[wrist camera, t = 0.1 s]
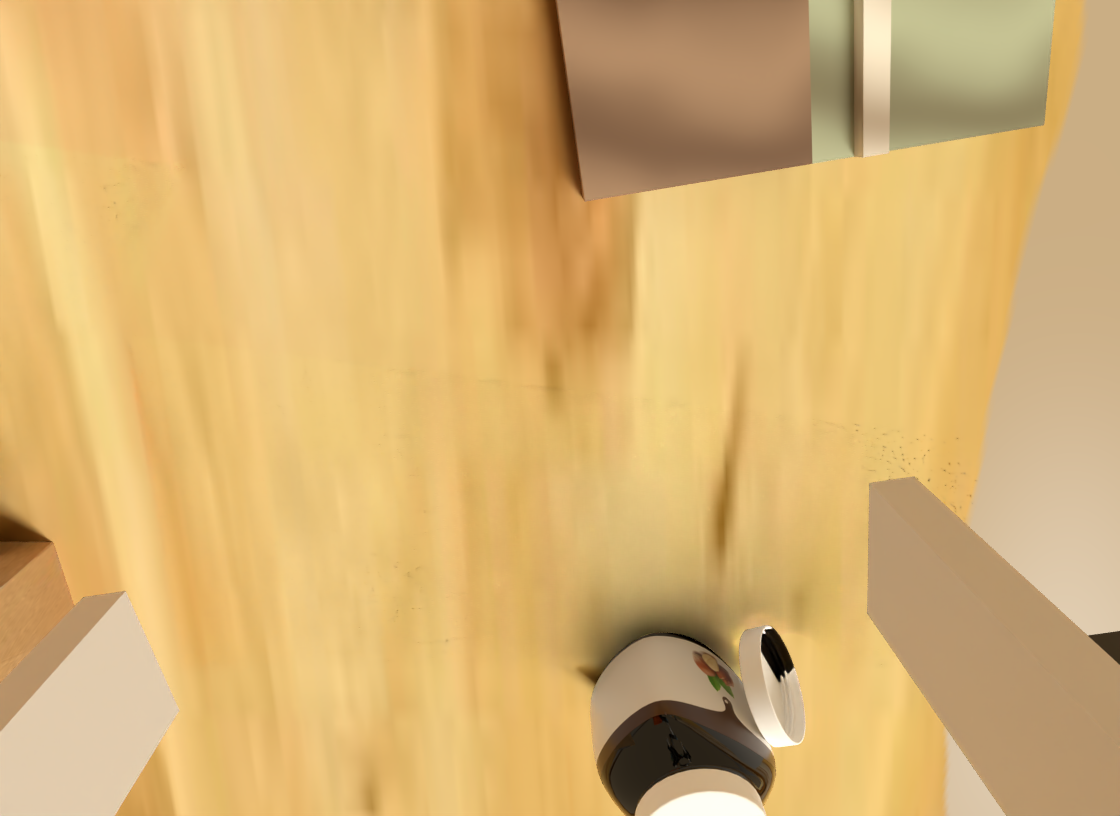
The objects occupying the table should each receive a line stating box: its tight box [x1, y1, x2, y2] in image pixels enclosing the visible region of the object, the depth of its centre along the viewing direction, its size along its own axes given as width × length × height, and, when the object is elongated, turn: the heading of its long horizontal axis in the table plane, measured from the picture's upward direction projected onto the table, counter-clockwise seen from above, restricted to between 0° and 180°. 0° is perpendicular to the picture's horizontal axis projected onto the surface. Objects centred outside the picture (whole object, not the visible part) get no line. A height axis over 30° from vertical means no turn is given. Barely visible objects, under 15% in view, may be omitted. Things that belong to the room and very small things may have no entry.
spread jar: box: [590, 625, 805, 816], centre depth 41 cm, size 12×11×12 cm
